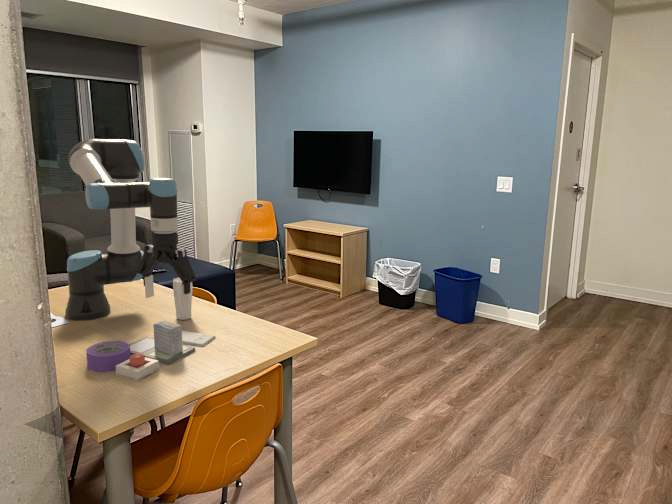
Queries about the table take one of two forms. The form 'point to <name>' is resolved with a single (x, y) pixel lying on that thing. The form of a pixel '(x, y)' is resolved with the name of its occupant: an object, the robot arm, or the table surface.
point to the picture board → (148, 349)
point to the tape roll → (107, 355)
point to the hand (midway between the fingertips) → (167, 300)
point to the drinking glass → (181, 310)
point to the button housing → (137, 369)
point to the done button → (137, 360)
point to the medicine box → (168, 337)
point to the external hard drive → (196, 338)
